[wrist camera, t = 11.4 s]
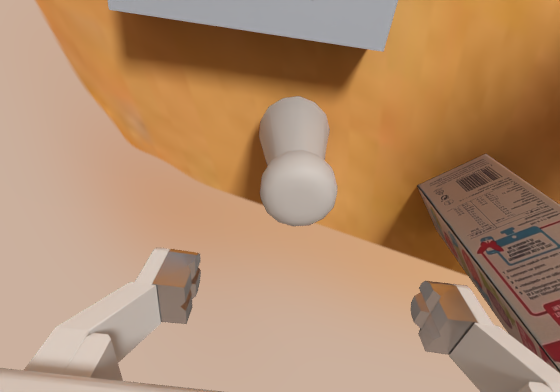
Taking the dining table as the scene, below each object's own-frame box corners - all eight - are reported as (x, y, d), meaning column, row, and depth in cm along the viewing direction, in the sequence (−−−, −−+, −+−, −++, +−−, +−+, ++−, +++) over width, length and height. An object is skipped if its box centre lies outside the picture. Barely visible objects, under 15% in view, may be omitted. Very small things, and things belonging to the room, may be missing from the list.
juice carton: (486, 153, 28) (896, 438, 9) (500, 204, 31) (834, 499, 12) (416, 185, 30) (639, 475, 11) (436, 230, 33) (639, 521, 14)
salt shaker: (251, 102, 26) (226, 169, 15) (315, 80, 25) (340, 133, 14) (274, 161, 29) (267, 253, 18) (332, 143, 28) (363, 229, 17)
